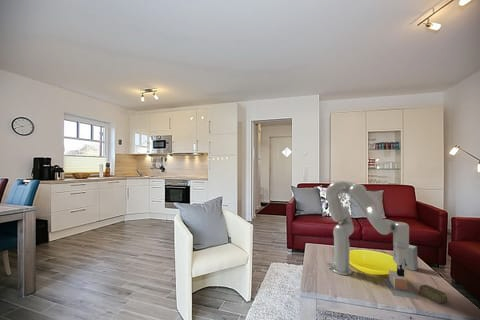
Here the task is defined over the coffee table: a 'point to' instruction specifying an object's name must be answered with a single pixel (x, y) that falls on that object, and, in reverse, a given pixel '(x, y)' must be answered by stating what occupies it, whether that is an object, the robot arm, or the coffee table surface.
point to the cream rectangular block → (397, 281)
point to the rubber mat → (401, 291)
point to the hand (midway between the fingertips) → (400, 275)
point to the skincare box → (412, 258)
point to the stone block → (433, 293)
